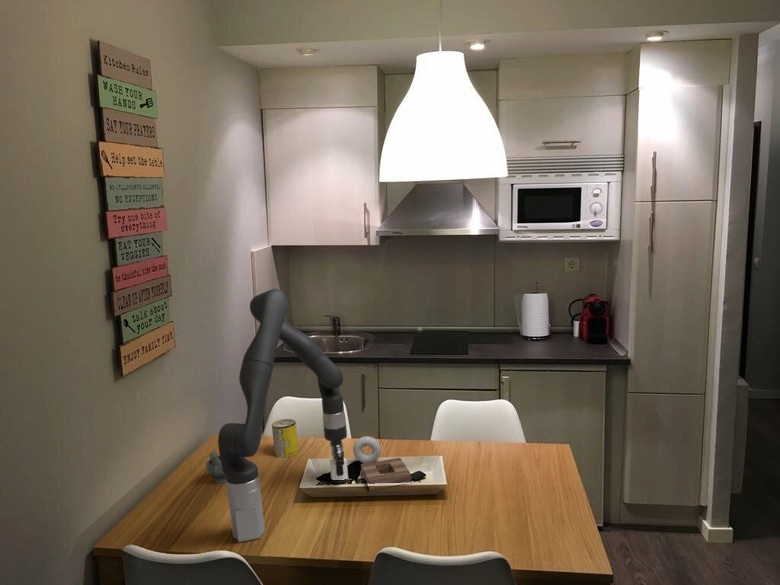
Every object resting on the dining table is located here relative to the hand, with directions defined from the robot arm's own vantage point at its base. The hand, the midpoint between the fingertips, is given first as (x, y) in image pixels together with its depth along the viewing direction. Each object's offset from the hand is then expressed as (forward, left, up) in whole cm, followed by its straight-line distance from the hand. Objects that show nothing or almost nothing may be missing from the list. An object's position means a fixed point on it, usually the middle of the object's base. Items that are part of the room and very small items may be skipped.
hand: (339, 472), depth 226 cm
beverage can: (+33, +15, -3) cm, 36 cm away
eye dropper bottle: (0, 0, -3) cm, 3 cm away
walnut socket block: (-4, -15, -3) cm, 16 cm away
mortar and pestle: (+18, +39, -3) cm, 43 cm away
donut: (+11, -12, -3) cm, 17 cm away
